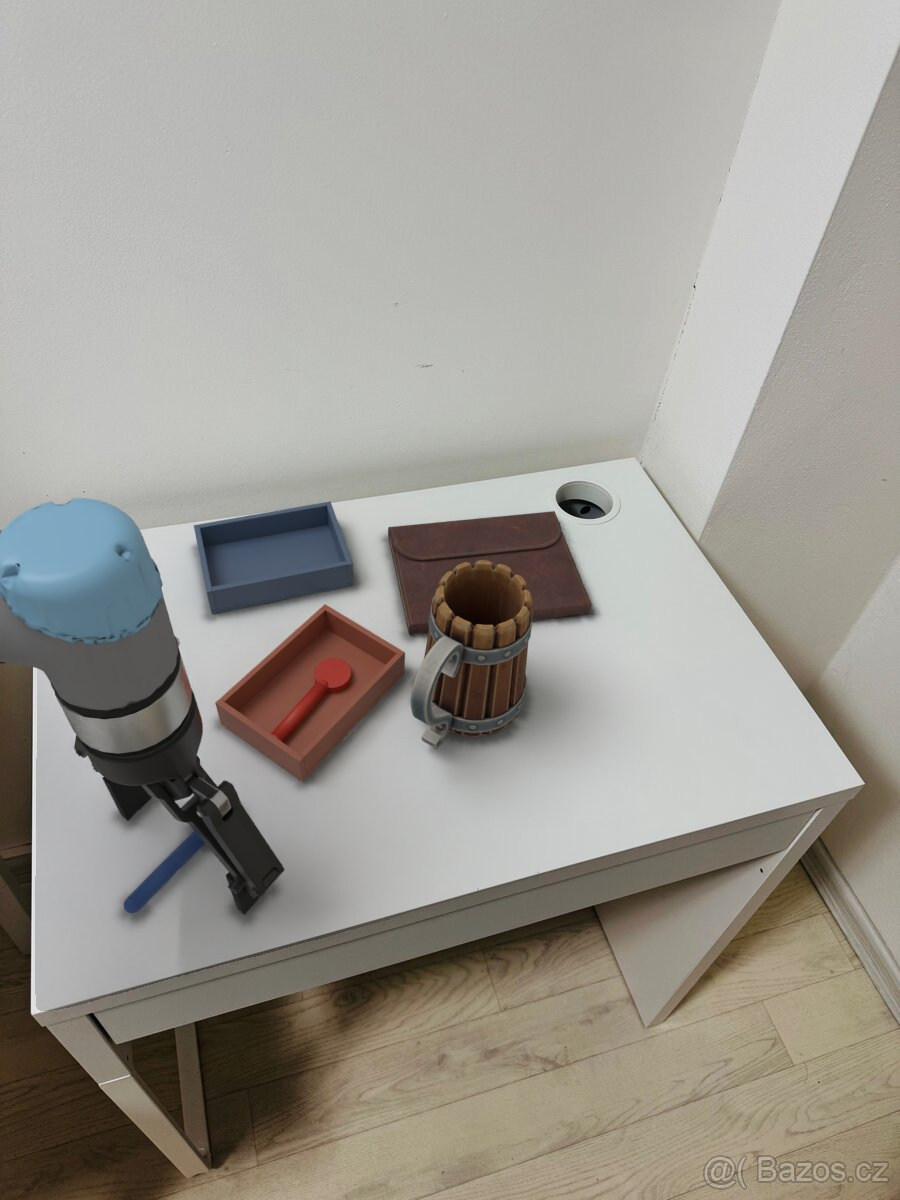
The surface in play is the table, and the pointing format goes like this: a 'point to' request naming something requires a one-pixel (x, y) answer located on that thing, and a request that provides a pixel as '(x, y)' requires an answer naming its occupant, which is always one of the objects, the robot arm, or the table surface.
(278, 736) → the red spoon
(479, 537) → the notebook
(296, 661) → the red bin
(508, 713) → the mug
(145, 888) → the blue spoon
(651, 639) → the table surface
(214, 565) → the blue bin
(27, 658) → the robot arm
